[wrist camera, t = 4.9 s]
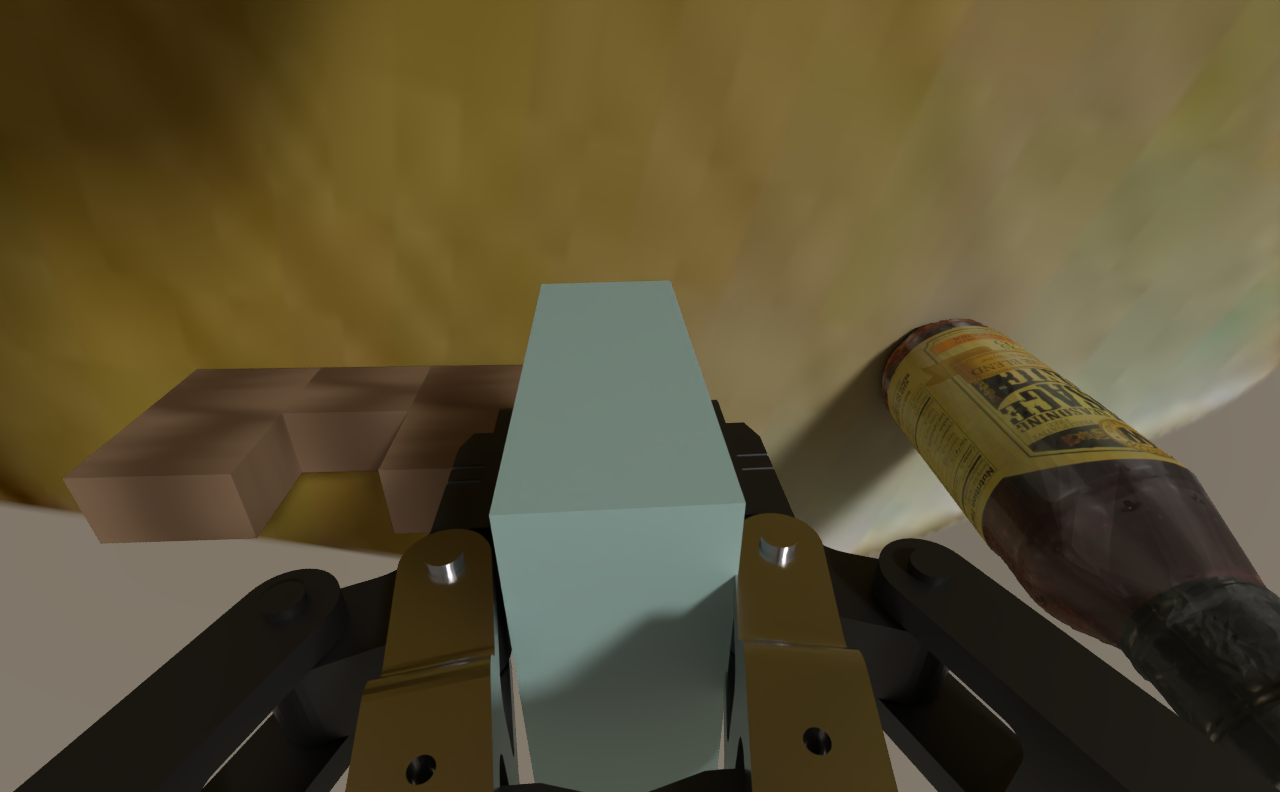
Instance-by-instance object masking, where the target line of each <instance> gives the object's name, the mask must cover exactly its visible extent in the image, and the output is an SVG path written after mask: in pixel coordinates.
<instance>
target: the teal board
mask: <svg viewBox="0 0 1280 792" xmlns="http://www.w3.org/2000/svg"><path fill="white" fill-rule="evenodd" d="M745 505H746V502H745V499H744V496H743V493H742V490H741V487H740V485H739V482H738V479H737V476H736V473H735V470H734V467H733V464H732V461H731V458H730V455H729V452H728V449H727V446H726V443H725V440H724V437H723V434H722V431H721V429H720V426H719V423H718V420H717V417H716V414H715V411H714V408H713V405H712V402H711V399H710V396H709V393H708V390H707V387H706V384H705V381H704V378H703V375H702V373H701V370H700V367H699V364H698V361H697V358H696V355H695V352H694V349H693V346H692V343H691V340H690V337H689V334H688V331H687V328H686V325H685V322H684V319H683V317H682V314H681V311H680V308H679V305H678V302H677V299H676V296H675V293H674V290H673V287H672V284H671V281H640V282H603V283H567V284H542V285H541V289H540V293H539V298H538V302H537V307H536V311H535V315H534V320H533V324H532V329H531V333H530V337H529V342H528V346H527V351H526V355H525V359H524V364H523V368H522V373H521V377H520V381H519V386H518V390H517V395H516V399H515V403H514V408H513V412H512V417H511V421H510V425H509V430H508V434H507V439H506V443H505V447H504V452H503V456H502V461H501V465H500V469H499V474H498V478H497V483H496V487H495V491H494V496H493V500H492V505H491V509H490V513H489V518H490V524H491V530H492V536H493V541H494V547H495V553H496V559H497V565H498V571H499V576H500V582H501V588H502V594H503V600H504V606H505V611H506V617H507V623H508V629H509V635H510V641H511V646H512V652H513V658H514V664H515V669H516V675H517V681H518V687H519V693H520V699H521V704H522V710H523V716H524V722H525V728H526V734H527V740H528V745H529V751H530V757H531V762H532V769H533V774H534V780H535V783H544V784H548V785H553V786H558V787H562V788H567V789H572V790H577V791H581V792H649V791H652V790H655V789H657V788H660V787H663V786H665V785H668V784H671V783H673V782H676V781H679V780H681V779H684V778H687V777H689V776H692V775H695V774H698V773H700V772H703V771H707V770H717V767H718V758H719V749H720V739H721V730H722V720H723V711H724V702H723V689H724V680H725V672H728V664H729V655H730V646H731V636H732V627H733V618H734V615H733V593H734V584H735V575H738V571H739V561H740V552H741V543H742V533H743V524H744V515H745Z"/></svg>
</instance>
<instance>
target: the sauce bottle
mask: <svg viewBox="0 0 1280 792" xmlns="http://www.w3.org/2000/svg"><path fill="white" fill-rule="evenodd" d="M882 388H883V394H882V396H883V400H884V403H885V406H886V408H887V409H888V410H889V411H890V412H891V415H892V417H893V418H894V420H895V422H896V423H897V424H898V426H899V427H900V428H901V430H902V431H903V432H904V434H905V435H906V436H907V438H908V439H909V440H910V442H911V443H912V444H913V446H914V447H915V449H916V450H917V451H918V453H919V454H920V455H921V457H922V458H923V459H924V461H925V462H926V463H927V465H928V466H929V467H930V469H931V470H932V471H933V472H934V474H935V475H936V476H937V478H938V479H939V480H940V482H941V483H942V484H943V486H944V487H945V488H946V490H947V491H948V492H949V494H950V495H951V496H952V498H953V499H954V501H955V502H956V503H957V505H958V506H959V507H960V509H961V510H962V511H963V513H964V514H965V515H966V517H967V518H968V519H969V521H970V522H971V523H972V525H973V526H974V527H975V529H976V530H977V531H978V533H979V534H980V535H981V537H982V538H983V539H984V541H985V542H986V543H987V545H988V546H989V547H990V549H991V550H993V551H994V552H995V553H996V554H997V555H998V556H1000V557H1001V558H1002V559H1003V561H1004V562H1005V563H1006V564H1007V566H1008V567H1009V569H1010V570H1011V571H1012V572H1013V574H1014V575H1015V577H1016V578H1017V580H1018V582H1019V583H1020V584H1021V585H1022V586H1023V588H1024V589H1025V590H1026V592H1027V593H1028V594H1029V595H1030V597H1031V598H1032V599H1033V600H1034V601H1035V602H1036V603H1037V604H1038V605H1039V606H1040V607H1042V608H1043V609H1044V610H1045V611H1046V612H1047V613H1049V614H1050V615H1051V616H1053V617H1054V618H1056V619H1058V620H1059V621H1061V622H1062V623H1064V624H1066V625H1069V626H1070V627H1071V628H1072V629H1074V630H1077V631H1079V632H1082V633H1085V634H1087V635H1089V636H1092V637H1094V638H1096V639H1099V640H1100V641H1101V642H1103V643H1106V644H1110V645H1112V646H1114V647H1117V648H1119V649H1121V650H1122V651H1123V653H1124V654H1125V655H1126V657H1127V658H1128V659H1129V660H1130V661H1131V663H1132V665H1133V667H1134V668H1135V670H1136V671H1137V672H1138V673H1139V674H1140V675H1141V676H1142V677H1143V678H1144V679H1145V680H1147V681H1150V682H1151V683H1152V684H1153V685H1154V687H1155V688H1156V689H1157V690H1158V691H1159V692H1160V693H1161V695H1162V696H1163V697H1164V698H1165V700H1166V701H1167V702H1168V704H1169V705H1170V706H1171V707H1172V708H1173V710H1174V711H1175V712H1176V713H1177V715H1178V716H1179V717H1180V718H1182V719H1183V720H1185V721H1186V722H1187V723H1189V724H1190V725H1191V726H1193V727H1194V728H1195V729H1197V730H1198V731H1200V732H1201V733H1202V734H1204V735H1205V736H1206V737H1208V738H1209V739H1210V740H1212V741H1213V742H1215V743H1216V744H1217V745H1219V746H1220V747H1221V748H1223V749H1224V750H1225V751H1227V752H1228V753H1230V754H1231V755H1232V756H1234V757H1235V758H1236V759H1238V760H1239V761H1240V762H1242V763H1243V764H1244V765H1246V766H1247V767H1249V768H1250V769H1251V770H1253V771H1254V772H1255V773H1257V774H1258V775H1259V776H1261V777H1262V778H1264V779H1265V780H1266V781H1268V782H1269V783H1270V784H1272V785H1273V786H1274V787H1276V788H1277V789H1279V790H1280V598H1279V597H1278V596H1277V595H1276V594H1274V593H1273V592H1271V591H1270V590H1269V589H1267V588H1266V586H1265V585H1264V583H1263V582H1262V580H1261V578H1260V577H1259V575H1258V574H1257V572H1256V571H1255V569H1254V567H1253V566H1252V564H1251V562H1250V561H1249V559H1248V558H1247V556H1246V555H1245V553H1244V551H1243V550H1242V548H1241V547H1240V546H1239V544H1238V542H1237V540H1236V539H1235V537H1234V536H1233V534H1232V533H1231V531H1230V530H1229V528H1228V526H1227V525H1226V523H1225V522H1224V520H1223V519H1222V517H1221V515H1220V514H1219V512H1218V511H1217V509H1216V508H1215V506H1214V505H1213V503H1212V502H1211V500H1210V498H1209V497H1208V495H1207V493H1206V492H1205V490H1204V489H1203V487H1202V485H1201V484H1200V482H1199V481H1198V479H1197V478H1196V476H1195V475H1194V474H1193V473H1192V472H1191V471H1190V470H1188V469H1187V468H1186V467H1184V466H1183V465H1182V464H1180V463H1179V462H1178V461H1176V460H1175V459H1174V458H1173V457H1172V456H1170V455H1168V454H1167V453H1165V452H1164V451H1163V450H1161V449H1160V448H1159V447H1157V446H1156V445H1155V444H1153V443H1152V442H1150V441H1149V440H1148V439H1146V438H1145V437H1144V436H1142V435H1141V434H1140V433H1138V432H1137V431H1136V430H1134V429H1133V428H1132V427H1130V426H1129V425H1127V424H1126V423H1125V422H1124V421H1122V420H1121V419H1119V418H1118V417H1117V416H1116V415H1115V414H1113V413H1112V412H1110V411H1109V410H1107V409H1106V408H1105V407H1104V406H1102V405H1101V404H1100V403H1099V402H1097V401H1095V400H1094V399H1093V398H1091V397H1090V396H1088V395H1087V394H1085V393H1083V392H1082V391H1081V390H1080V389H1079V388H1077V387H1076V386H1075V385H1073V384H1072V383H1071V382H1069V381H1068V380H1066V379H1065V378H1063V377H1062V376H1060V375H1059V374H1058V373H1056V372H1055V371H1053V370H1052V369H1051V368H1049V367H1048V366H1046V365H1045V364H1044V363H1042V362H1041V361H1040V360H1038V359H1037V358H1036V357H1034V356H1033V355H1031V354H1030V353H1029V352H1027V351H1026V350H1025V349H1023V348H1022V347H1020V346H1019V345H1018V344H1016V343H1015V342H1014V341H1012V340H1011V339H1009V338H1008V337H1007V336H1005V335H1004V334H1002V333H1000V332H998V331H996V330H994V329H990V328H988V327H987V326H984V325H982V324H981V323H978V322H975V321H974V320H971V319H950V320H941V321H940V322H936V323H930V324H928V325H924V326H922V327H920V328H919V329H917V330H915V331H914V332H912V333H911V334H910V335H909V336H908V337H907V339H906V340H905V341H904V342H902V343H901V344H900V345H899V346H898V347H897V348H896V349H895V350H894V351H893V352H892V354H891V356H890V357H889V359H888V361H887V363H886V366H885V369H884V373H883V379H882Z"/></svg>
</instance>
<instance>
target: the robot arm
mask: <svg viewBox="0 0 1280 792" xmlns="http://www.w3.org/2000/svg"><path fill="white" fill-rule="evenodd" d="M711 402H712V405H713V408H714V411H715V414H716V417H717V420H718V423H719V426H720V429H721V431H722V434H723V437H724V440H725V443H726V446H727V449H728V452H729V455H730V458H731V461H732V464H733V467H734V470H735V473H736V476H737V479H738V482H739V485H740V487H741V490H742V493H743V496H744V499H745V502H746V505H745V515H744V524H743V533H742V543H741V552H740V561H739V571H738V575H735V584H734V593H733V615H734V618H733V627H732V636H731V646H730V655H729V664H728V672H725V680H724V689H723V702H724V751H725V753H724V754H725V755H724V756H725V757H724V769H721V770H707V771H703V772H700V773H698V774H695V775H692V776H689V777H687V778H684V779H681V780H679V781H676V782H673V783H671V784H668V785H665V786H663V787H660V788H657V789H655V790H652V791H649V792H898V789H897V785H896V781H895V777H894V773H893V770H892V765H891V761H890V758H889V754H888V750H887V746H886V742H885V738H884V734H883V731H884V732H885V733H886V734H887V735H888V736H889V737H890V738H891V739H892V741H893V742H894V743H895V744H896V745H897V746H898V747H899V749H900V750H901V751H902V752H903V753H904V754H905V755H906V756H907V757H908V759H909V760H910V761H911V762H912V763H913V764H914V765H915V766H916V767H917V768H918V770H919V771H920V772H921V773H922V774H923V775H924V776H925V778H926V779H927V780H928V781H929V782H930V783H931V784H932V785H933V786H934V788H935V789H936V790H937V791H938V792H1280V790H1279V789H1277V788H1276V787H1274V786H1273V785H1272V784H1270V783H1269V782H1268V781H1266V780H1265V779H1264V778H1262V777H1261V776H1259V775H1258V774H1257V773H1255V772H1254V771H1253V770H1251V769H1250V768H1249V767H1247V766H1246V765H1244V764H1243V763H1242V762H1240V761H1239V760H1238V759H1236V758H1235V757H1234V756H1232V755H1231V754H1230V753H1228V752H1227V751H1225V750H1224V749H1223V748H1221V747H1220V746H1219V745H1217V744H1216V743H1215V742H1213V741H1212V740H1210V739H1209V738H1208V737H1206V736H1205V735H1204V734H1202V733H1201V732H1200V731H1198V730H1197V729H1195V728H1194V727H1193V726H1191V725H1190V724H1189V723H1187V722H1186V721H1185V720H1183V719H1182V718H1180V717H1179V716H1178V715H1176V714H1175V713H1174V712H1172V711H1171V710H1170V709H1168V708H1167V707H1165V706H1164V705H1162V704H1161V703H1160V702H1158V701H1157V700H1156V699H1155V698H1153V697H1152V696H1151V695H1149V694H1148V693H1146V692H1145V691H1144V690H1142V689H1141V688H1140V687H1138V686H1137V685H1135V684H1134V683H1133V682H1131V681H1130V680H1129V679H1127V678H1126V677H1125V676H1123V675H1122V674H1121V673H1119V672H1118V671H1116V670H1115V669H1114V668H1112V667H1111V666H1110V665H1108V664H1107V663H1106V662H1104V661H1102V660H1101V659H1100V658H1099V657H1097V656H1096V655H1095V654H1093V653H1092V652H1090V651H1089V650H1088V649H1087V648H1085V647H1084V646H1082V645H1081V644H1080V643H1078V642H1077V641H1076V640H1074V639H1073V638H1072V637H1070V636H1069V635H1067V634H1066V633H1065V632H1063V631H1062V630H1061V629H1059V628H1058V627H1056V626H1055V625H1054V624H1052V623H1051V622H1050V621H1048V620H1047V619H1045V618H1044V617H1043V616H1042V615H1040V614H1039V613H1037V612H1036V611H1035V610H1033V609H1032V608H1031V607H1029V606H1028V605H1026V604H1025V603H1024V602H1022V601H1021V600H1020V599H1018V598H1017V597H1016V596H1014V595H1013V594H1012V593H1010V592H1009V591H1008V590H1006V589H1005V588H1003V587H1002V586H1001V585H999V584H998V583H996V582H995V581H994V580H993V579H991V578H990V577H988V576H987V575H985V574H984V573H983V572H982V571H980V570H979V569H977V568H976V567H975V566H973V565H972V564H971V563H969V562H968V561H966V560H965V559H964V558H962V557H961V556H960V555H958V554H957V553H955V552H954V551H952V550H950V549H948V548H947V547H944V546H942V545H939V544H937V543H934V542H931V541H927V540H922V539H913V538H910V539H900V540H896V541H893V542H891V543H889V544H888V545H886V546H885V547H884V548H883V549H882V551H881V553H880V556H879V559H876V558H870V557H865V556H860V555H855V554H849V553H845V552H841V551H837V550H834V549H831V548H828V547H826V546H824V545H823V544H822V541H821V539H820V537H819V536H818V534H817V533H816V532H815V531H814V530H813V529H812V528H811V527H810V526H809V525H807V524H805V523H804V522H802V521H800V520H798V519H796V518H795V517H794V514H793V512H792V510H791V508H790V505H789V503H788V501H787V498H786V496H785V494H784V491H783V489H782V487H781V484H780V482H779V480H778V477H777V475H776V473H775V470H773V466H772V464H771V461H770V459H769V457H768V456H767V452H766V450H765V447H764V445H763V443H762V440H761V438H760V436H759V435H758V434H756V433H755V432H754V431H753V430H752V429H751V428H749V427H748V426H747V425H746V424H745V423H744V422H743V423H725V420H724V417H723V414H722V411H721V409H720V406H719V403H718V401H717V400H711ZM513 408H514V407H513ZM513 408H500V410H499V413H498V417H497V420H496V424H495V428H494V432H493V433H474V434H473V435H472V436H471V437H470V438H469V439H468V440H467V441H466V442H465V443H464V444H463V445H462V446H461V447H460V448H459V449H458V452H457V455H456V458H455V461H454V464H453V470H451V473H450V475H449V478H448V484H446V487H445V490H444V493H443V496H442V499H441V502H440V505H439V508H438V511H437V514H436V517H435V520H434V523H433V526H432V529H431V531H430V534H429V535H428V536H426V537H424V538H422V539H420V540H419V541H417V542H416V543H414V544H413V545H412V546H411V547H410V548H409V549H408V550H407V551H406V552H405V553H404V555H403V556H402V557H401V559H400V561H399V564H398V568H397V570H395V571H393V572H391V573H389V574H387V575H384V576H381V577H378V578H375V579H372V580H368V581H365V582H361V583H358V584H354V585H351V586H348V587H345V588H341V589H340V586H339V584H338V581H337V580H336V578H335V577H334V576H333V575H331V574H330V573H328V572H326V571H323V570H319V569H300V570H294V571H290V572H287V573H283V574H281V575H279V576H276V577H273V578H271V579H269V580H267V581H266V582H264V583H262V584H261V585H259V586H257V587H256V588H255V589H254V590H252V591H251V592H249V593H248V594H247V595H246V596H245V597H244V598H242V599H241V600H240V601H239V602H238V603H237V604H235V605H234V606H233V607H232V608H231V609H229V610H228V611H227V612H226V613H225V614H223V615H222V616H221V617H220V618H219V619H217V620H216V621H215V622H214V623H213V624H212V625H210V626H209V627H208V628H207V629H206V630H205V631H203V632H202V633H201V634H200V635H198V636H197V637H196V638H195V639H194V640H193V641H191V642H190V643H189V644H188V645H187V646H185V647H184V648H183V649H182V650H181V651H179V653H177V654H176V655H175V656H174V657H172V658H171V659H170V660H169V661H168V662H167V663H165V664H164V665H163V666H162V667H161V668H159V669H158V670H157V671H156V672H155V673H153V674H152V675H151V676H150V677H149V678H147V680H145V681H144V682H143V683H142V684H140V685H139V686H138V687H137V688H136V689H134V690H133V691H132V692H131V693H130V694H129V695H127V696H126V697H125V698H124V699H123V700H121V701H120V702H119V703H118V704H117V705H116V706H114V707H113V708H112V709H111V710H110V711H109V712H107V713H106V714H105V715H104V716H102V717H101V718H100V719H99V720H98V721H97V722H95V723H94V724H93V725H92V726H91V727H89V728H88V729H87V730H86V731H85V732H83V733H82V734H81V735H80V736H79V737H78V738H76V739H75V740H74V741H73V742H72V743H70V744H69V745H68V746H67V747H66V748H64V749H63V750H62V751H61V752H60V753H59V754H57V755H56V756H55V757H54V758H53V759H51V760H50V761H49V762H48V763H47V764H46V765H44V766H43V767H42V768H41V769H40V770H39V771H37V772H36V773H35V774H34V775H33V776H31V777H30V778H29V779H28V780H27V781H25V782H24V783H23V784H22V785H21V786H20V787H18V788H17V789H16V790H15V791H13V792H330V790H331V789H332V788H333V786H334V785H335V784H336V783H337V781H338V780H339V778H340V777H341V776H342V775H343V773H344V772H345V771H346V769H347V768H348V766H349V765H350V767H349V774H348V779H347V784H346V790H345V792H581V791H577V790H572V789H567V788H562V787H558V786H553V785H548V784H544V783H533V784H519V774H518V759H517V743H516V728H515V711H514V695H513V679H512V665H511V659H510V655H511V651H512V646H511V641H510V635H509V629H508V623H507V617H506V611H505V606H504V600H503V594H502V588H501V582H500V576H499V571H498V565H497V559H496V553H495V547H494V541H493V536H492V530H491V524H490V518H489V513H490V509H491V505H492V500H493V496H494V491H495V487H496V483H497V478H498V474H499V469H500V465H501V461H502V456H503V452H504V447H505V443H506V439H507V434H508V430H509V425H510V421H511V417H512V412H513ZM949 670H951V671H952V672H953V673H954V674H955V675H956V676H957V677H958V678H959V679H961V680H962V681H963V682H964V683H965V684H966V685H967V686H968V687H969V688H970V689H971V690H972V691H973V692H975V693H976V694H977V695H978V696H979V697H980V698H981V699H982V700H983V701H985V702H986V703H987V704H988V705H989V706H990V707H991V708H992V709H993V710H994V711H995V712H997V714H999V715H1000V716H1001V717H1002V718H1003V719H1004V720H1005V721H1006V722H1007V723H1008V724H1009V725H1010V726H1011V728H1012V729H1013V730H1014V731H1015V733H1016V734H1015V733H1014V732H1012V730H1010V729H1009V728H1008V727H1007V726H1006V725H1005V724H1004V723H1003V722H1002V721H1001V720H1000V719H999V718H997V717H996V716H995V715H994V714H993V713H992V712H991V711H990V710H989V709H988V708H987V707H986V706H984V705H983V704H982V703H981V702H980V701H979V700H978V699H976V697H975V696H974V695H972V694H971V693H970V692H969V691H968V690H967V689H966V688H965V687H964V686H963V685H962V684H961V683H959V682H958V681H957V680H956V679H955V678H954V677H953V676H952V675H951V674H949V672H948V671H949ZM271 711H272V712H273V714H272V715H271V716H270V717H269V718H268V719H267V721H266V722H265V723H264V724H263V725H262V726H261V727H260V728H259V729H258V730H257V731H256V732H255V733H254V734H253V735H252V737H251V738H250V739H249V740H248V741H247V742H246V743H245V744H244V745H243V746H242V747H241V748H240V749H239V750H238V752H237V753H236V754H235V755H234V756H233V757H232V758H231V759H230V760H229V761H228V762H227V763H226V764H225V765H224V767H223V768H222V769H221V770H220V771H219V772H218V773H217V774H216V775H215V776H214V777H213V778H212V779H211V780H210V782H209V783H208V784H207V785H206V786H205V787H204V785H205V783H206V782H207V781H208V779H209V778H210V777H211V776H212V775H213V773H214V772H215V771H216V770H217V769H218V768H219V767H220V766H221V765H222V764H223V763H224V761H225V760H226V759H227V758H228V757H229V756H230V755H231V754H232V753H233V752H234V751H235V750H236V748H238V747H239V746H240V744H241V743H242V742H243V741H244V740H245V739H246V738H247V737H248V736H249V735H250V734H251V733H252V732H253V731H254V729H256V727H257V726H258V725H259V724H260V723H261V722H262V721H263V720H264V719H265V718H266V717H267V715H269V714H270V713H271ZM203 787H204V788H203ZM202 788H203V789H202Z"/></svg>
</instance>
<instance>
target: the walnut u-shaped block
mask: <svg viewBox="0 0 1280 792" xmlns="http://www.w3.org/2000/svg"><path fill="white" fill-rule="evenodd" d="M522 368H523V365H480V366H411V367H341V368H271V369H201V370H196V371H194V372H193V373H192V374H191V375H189V376H188V377H187V378H186V379H185V380H183V381H182V382H181V383H180V384H178V385H177V386H176V387H175V388H173V389H172V390H171V391H170V392H168V393H167V394H166V395H165V396H164V397H162V398H161V399H160V400H159V401H157V402H156V403H155V404H154V405H152V406H151V407H150V408H149V409H147V410H146V411H145V412H144V413H143V414H141V415H140V416H139V417H138V418H136V419H135V420H134V421H133V422H131V423H130V424H129V425H128V426H127V427H125V428H124V429H123V430H122V431H120V432H119V433H118V434H117V435H115V436H114V437H113V438H112V439H110V440H109V441H108V442H107V443H106V444H104V445H103V446H102V447H101V448H99V449H98V450H97V451H96V452H94V453H93V454H92V455H91V456H89V457H88V458H87V459H86V460H85V461H83V462H82V463H81V464H80V465H78V466H77V467H76V468H75V469H73V470H72V471H71V472H70V473H68V474H67V475H66V476H65V477H64V478H62V479H63V481H64V482H65V484H66V486H67V487H68V489H69V491H70V492H71V494H72V496H73V497H74V499H75V501H76V502H77V504H78V506H79V508H80V509H81V511H82V513H83V514H84V516H85V518H86V519H87V521H88V523H89V524H90V526H91V528H92V530H93V531H94V533H95V535H96V536H97V538H98V540H99V541H100V543H127V542H128V543H129V542H156V541H157V542H160V541H188V540H189V541H190V540H219V539H251V538H257V537H258V536H259V534H260V533H261V532H262V530H263V529H264V527H265V526H266V524H267V523H268V521H269V520H270V518H271V517H272V516H273V514H274V513H275V511H276V510H277V508H278V507H279V505H280V504H281V502H282V501H283V499H284V498H285V497H286V495H287V494H288V492H289V491H290V489H291V488H292V486H293V485H294V483H295V482H296V481H297V479H298V478H299V476H300V475H301V473H302V472H340V471H379V475H380V479H381V483H382V487H383V491H384V495H385V499H386V503H387V507H388V511H389V515H390V519H391V523H392V527H393V531H394V534H402V533H430V531H431V529H432V526H433V523H434V520H435V517H436V514H437V511H438V508H439V505H440V502H441V499H442V496H443V493H444V490H445V487H446V484H448V478H449V475H450V473H451V470H453V464H454V461H455V458H456V455H457V452H458V449H459V448H460V447H461V446H462V445H463V444H464V443H465V442H466V441H467V440H468V439H469V438H470V437H471V436H472V435H473V434H474V433H493V432H494V428H495V424H496V420H497V417H498V413H499V410H500V408H513V407H514V403H515V399H516V395H517V390H518V386H519V381H520V377H521V373H522Z"/></svg>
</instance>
